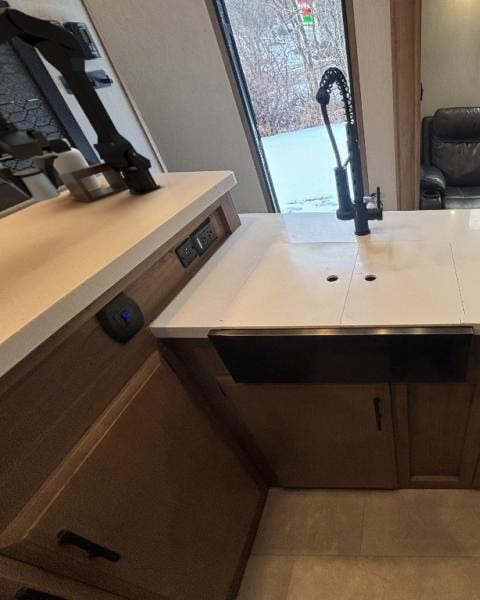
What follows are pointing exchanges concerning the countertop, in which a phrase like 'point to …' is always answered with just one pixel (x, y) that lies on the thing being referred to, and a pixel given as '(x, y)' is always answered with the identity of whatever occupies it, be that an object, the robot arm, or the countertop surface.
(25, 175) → the spice tin
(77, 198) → the frame
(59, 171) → the pill bottle
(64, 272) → the countertop surface
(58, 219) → the countertop surface
